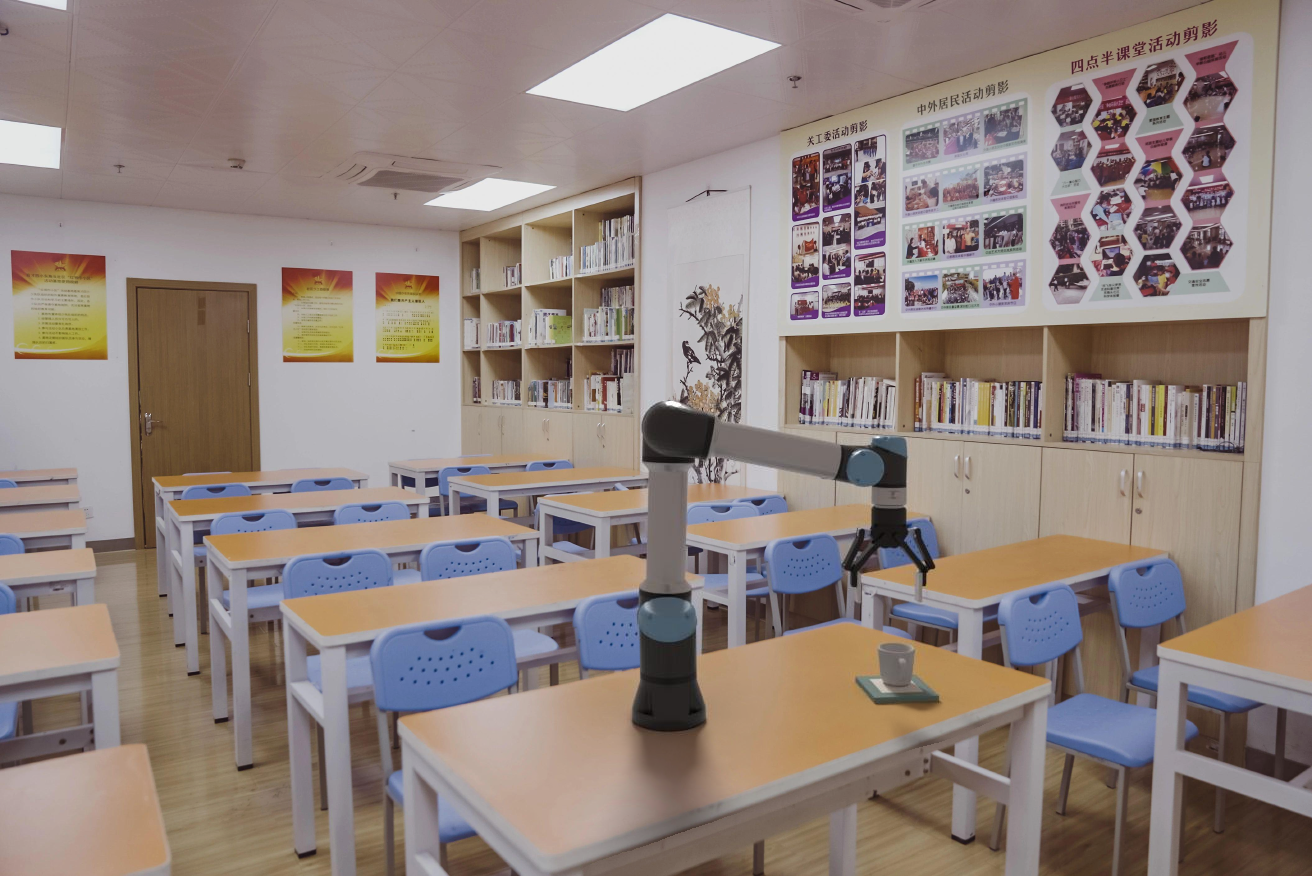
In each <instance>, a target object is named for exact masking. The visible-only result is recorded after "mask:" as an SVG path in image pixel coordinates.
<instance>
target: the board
mask: <svg viewBox="0 0 1312 876" xmlns="http://www.w3.org/2000/svg"><path fill="white" fill-rule="evenodd" d="M855 683H856V684H857V686H858V687H859V688H861V690H862V691H863V692H864V693H865V694H866V696H867V697H869V699H870V700H871V701H872V702H873V703H874V704H887V703H888V704H889V703H890V704H891V703H895V704H897V703H916V702H917V703H918V702H919V703H920V702H924V703H925V702H926V703H927V702H939V701H940V695H939V694H938V692H936V691H934V689H932V688H931V687H930V686H929V685H928V684H927V683H926V682H925V681H923V680H922V679H921V678H920V677H919V676H918V675H917V674H912V680H911V682H910V683H909V684H908V685H904V686H893V685H889V684H886V683H884V682H883V681H882V679H881V675H862V676H858V675H857V676H855Z"/></svg>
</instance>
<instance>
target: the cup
mask: <svg viewBox="0 0 1312 876" xmlns="http://www.w3.org/2000/svg"><path fill="white" fill-rule="evenodd" d="M915 651H916V649H915V647H914V646H912V645H910V644H907V643H902V642H884V643H881V644H879V645H878V646H877V655H878V664H879V674H880V675H879V676H881V679H882V681H883V682H884V683H886V684H889V685H893V686H904V685H908V684H909V683H910V682H911V680H912V675H913V673H914V672H913V671H914V663H915V653H916V652H915Z"/></svg>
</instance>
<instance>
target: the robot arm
mask: <svg viewBox="0 0 1312 876" xmlns="http://www.w3.org/2000/svg"><path fill="white" fill-rule="evenodd" d="M641 433H642V437H641V438H642V439H641V441H642V444H641V445H642V446H641V447H642V449H641V463H642V464H643V465H644V466H645V467H646V468H647V470H648V480H647V482H648V483H647V484H648V487H647V489H648V491H647V524H646V525H647V526H646V527H647V528H646V529H647V531H646V539H647V540H646V570H645V572H646V573H645V579H644V580H643V581H642V582H641V583H640V584H639V586H638V588H639V589H638V609H637V612H636V618H637V625H638V626H637V627H638V634H639V635H638V636H639V637H638V638H639V683H638V685H637V689H636V692H635V696H634V700H633V702H632V707H631V719H632V720H633V722H634V723H635V724H636V725H638V726H640V727H643V728H645V729H650V730H655V731H656V730H657V731H666V732H667V731H668V732H671V731H672V732H673V731H680V730H681V731H682V730H688V729H691V728H692V729H693V728H695V727H697V726H700V725H701V724H703V723H704V722H705V720H706V718H707V707H706V704H705V703H706V702H705V700H704V697H703V694H702V691H701V688H700V685H699V682H698V673H697V672H698V670H697V667H698V664H697V663H698V660H697V659H698V658H697V657H698V656H697V626H698V617H697V611H696V608H695V606H694V605H693V604H692V596H693V595H692V594H693V593H692V592H693V589H692V587H693V586H692V585H691V584H690V583H689V582H688V581H687V579H686V562H687V561H686V559H687V556H686V555H687V553H686V552H687V519H688V518H687V516H688V512H687V511H688V479H689V478H688V476H689V471H690V469H691V468H692V467H693V466H694V465H695V464H696V459H698V460H703V461H708V460H710V459H711V458H720V459H724V460H727V461H728V460H729V461H734V462H739V463H745V464H748V465H755V466H761V467H765V468H770V469H775V470H780V471H781V470H782V471H786V472H791V473H796V474H801V475H807V476H810V477H811V476H812V477H816V478H820V479H821V480H831V481H836V482H841V483H845V484H849V485H850V484H851V485H854V486H856V487H861V488H868V487H869V488H870V487H871V499H870V500H871V501H870V502H871V504H872V505H873V506H872V507H871V510H870V511H871V512H870V513H871V514H870V517H871V519H870V521H871V522H870V523H871V524H870V528H862V527H860V526H858V527H857V528H856V533H855V537H854V540H853V542H852V544H851V546H850V548H849V549H848V552H847V553H846V555H845V558H844V560H843V561H842V563H841V568H842V569H844V570H845V571H847V572H849V573H850V574H849V584H850V585H849V586H850V587H852V588H854V590H853V591H854V593H853V594H854V595H853V596H854V597H853V598H854V599H853V600H854V601H855V602H856V603H857V604H861V603H862V573H861V572H859V571H860V570H861V568H863V566H864V565H865V564H866V563H867V561H869V559H870V558H871V557H872V555H874V553H875V552H876V551H878V550H879V549H880V548H881V549H882V550H883V549H885V550H886V549H890V548H891V549H898V548H900V549H901V550H902V551H903V553H904V554H906V557H908V559H910V561H911V562H912V563H913V565H915V567H916V568H917V569H918V570H914V601H916V602H918V603H923V587H926V586H927V574H928V573H929V571H931V570H935V569H936V564H935V562H934V560H933V558H932V556H931V554H930V552H929V550H928V548H927V546H926V544H925V542H924V539H923V537H922V529H921V528H919V527H917V526H913V527H909V528H908V527H907V516H908V515H907V511H908V510H907V508H906V507H905V506H906V505H907V503H908V502H907V499H908V498H907V496H908V495H907V493H908V492H907V490H908V489H907V477H908V458H909V456H908V446H907V440H906V438H905V437H903V436H900V435H875V436H873V437H872V438H871V442H870V444H866V445H857V444H856V445H855V444H854V445H852V444H851V445H850V444H849V445H847V444H841V443H835V442H831V441H826V440H821V439H818V438H817V439H816V438H811V437H806V436H801V435H796V434H791V433H786V432H781V431H776V430H772V429H766V428H761V427H756V426H751V425H746V424H742V423H736V422H730V421H726V420H721V419H720V418H719V417H718V415H717V414H716V413H711V412H708V411H703V410H699V409H698V408H694V407H692V406H689V405H688V404H685V403H683V402H680V401H677V400H676V401H675V400H671V399H670V400H669V399H668V400H661V401H659V402H656V403H655V404H653V405H652V406H650V408H648V410H647V411H646V412H645V413H644V415H643V417H642V421H641ZM908 535H909V536H910V538H912V539H913V541H914V543H915V545H916V548H917V549H918V552H919V553H920V555H921V557H922V559H923V562H924V563H923V562H922V560H921V559H920V558H919V557H918V555H916V553H915V552H914V551H913V550H912V548H911V547H910V545H909V544H908V543H907V542H906V538H907V537H908ZM868 536H870V537H871V538H872V539H871V540H870V542H869V543H868V544H867V546H866V548H864V550H863V551H862V553H860V555H859V556H858V557H857V555H858V553H859V551H860V549H861V547H862V545H863V543H864V541H865V539H867V538H868ZM856 557H857V558H856Z"/></svg>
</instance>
